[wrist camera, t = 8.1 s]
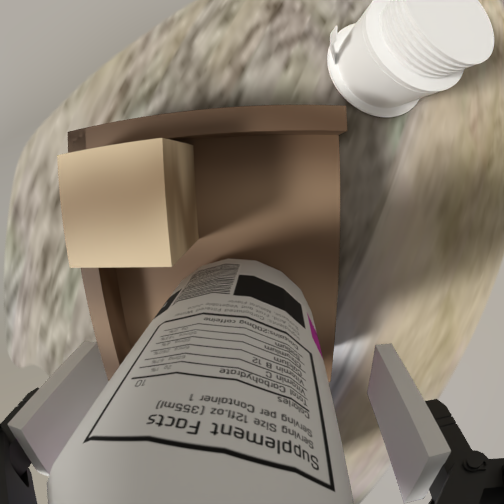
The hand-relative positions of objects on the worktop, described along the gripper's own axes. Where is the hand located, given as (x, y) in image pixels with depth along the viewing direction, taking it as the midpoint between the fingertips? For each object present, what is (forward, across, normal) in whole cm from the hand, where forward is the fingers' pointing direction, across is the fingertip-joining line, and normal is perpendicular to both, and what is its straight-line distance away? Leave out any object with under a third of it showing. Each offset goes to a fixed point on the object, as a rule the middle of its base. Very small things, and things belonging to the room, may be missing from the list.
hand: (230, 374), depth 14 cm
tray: (+9, +2, -4) cm, 10 cm away
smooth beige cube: (+5, +4, -8) cm, 10 cm away
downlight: (+9, -10, -16) cm, 20 cm away
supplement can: (+5, 0, 0) cm, 5 cm away
